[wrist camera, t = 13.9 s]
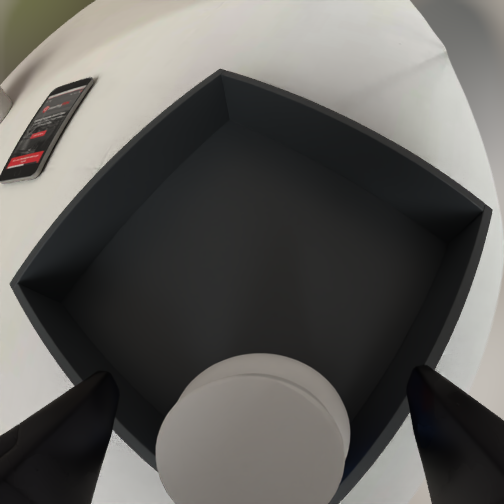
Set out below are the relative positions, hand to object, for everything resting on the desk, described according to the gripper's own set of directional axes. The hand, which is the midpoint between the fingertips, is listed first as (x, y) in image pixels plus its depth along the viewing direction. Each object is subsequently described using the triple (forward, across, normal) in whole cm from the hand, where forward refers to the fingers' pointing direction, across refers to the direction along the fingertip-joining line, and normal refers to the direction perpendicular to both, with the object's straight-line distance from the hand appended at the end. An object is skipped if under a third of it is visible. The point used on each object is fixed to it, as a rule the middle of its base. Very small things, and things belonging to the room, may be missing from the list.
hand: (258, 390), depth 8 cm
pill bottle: (+4, 0, +6) cm, 8 cm away
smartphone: (+22, +24, -11) cm, 34 cm away
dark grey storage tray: (+10, +1, +2) cm, 10 cm away
